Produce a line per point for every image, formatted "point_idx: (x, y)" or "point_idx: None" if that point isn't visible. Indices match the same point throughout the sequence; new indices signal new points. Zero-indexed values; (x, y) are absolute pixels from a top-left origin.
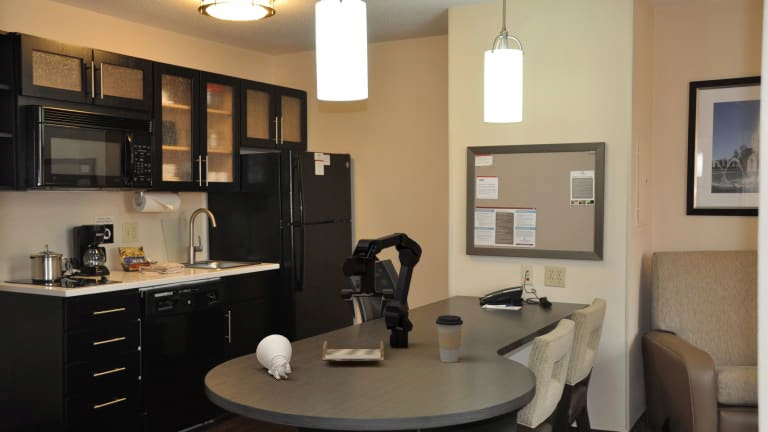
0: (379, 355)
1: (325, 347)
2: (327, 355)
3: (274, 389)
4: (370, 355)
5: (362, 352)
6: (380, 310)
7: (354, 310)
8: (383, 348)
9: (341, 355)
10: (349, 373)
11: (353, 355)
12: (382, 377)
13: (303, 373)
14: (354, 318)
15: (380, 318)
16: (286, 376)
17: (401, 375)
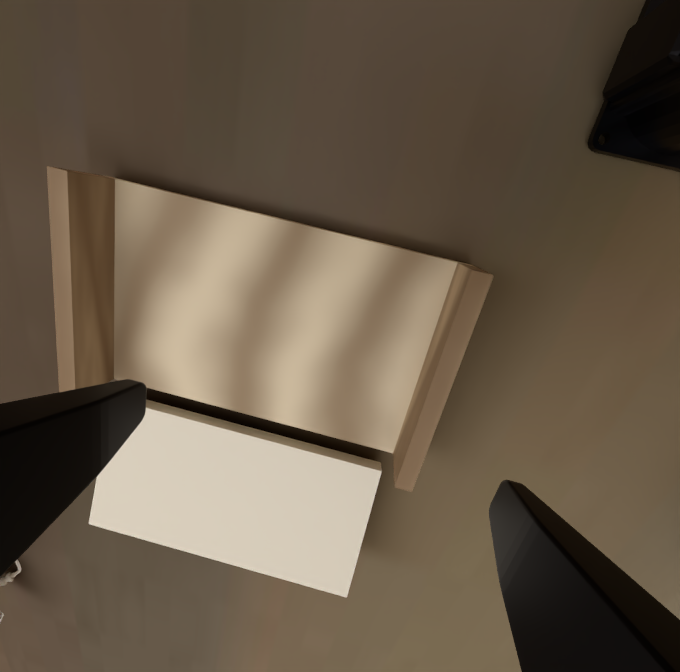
0: (345, 593)
1: (74, 379)
2: (101, 526)
3: (6, 643)
4: (302, 581)
5: (320, 329)
6: (567, 617)
7: (22, 507)
8: (411, 490)
9: (165, 543)
10: (219, 579)
11: (221, 558)
12: (323, 651)
13: (59, 532)
14: (134, 418)
15: (495, 516)
16: (7, 581)
17: (396, 654)
